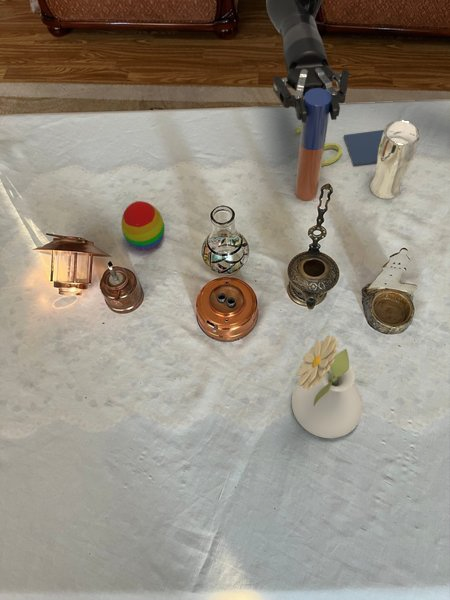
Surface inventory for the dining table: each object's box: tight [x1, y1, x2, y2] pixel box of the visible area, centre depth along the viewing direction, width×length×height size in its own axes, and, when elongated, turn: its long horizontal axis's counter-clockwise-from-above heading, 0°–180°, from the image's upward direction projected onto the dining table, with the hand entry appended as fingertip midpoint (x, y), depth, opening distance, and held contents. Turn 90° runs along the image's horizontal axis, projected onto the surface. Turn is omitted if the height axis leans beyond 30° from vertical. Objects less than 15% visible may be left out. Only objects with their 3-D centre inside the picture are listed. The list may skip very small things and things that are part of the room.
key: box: [294, 123, 343, 167], centre depth 115 cm, size 7×12×2 cm, turn 49°
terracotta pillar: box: [294, 142, 326, 202], centre depth 104 cm, size 5×5×14 cm
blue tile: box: [343, 129, 384, 167], centre depth 115 cm, size 9×9×1 cm
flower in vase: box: [291, 334, 364, 439], centre depth 75 cm, size 13×11×25 cm
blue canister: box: [299, 88, 332, 150], centre depth 93 cm, size 5×5×10 cm
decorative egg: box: [121, 200, 165, 251], centre depth 102 cm, size 8×8×10 cm
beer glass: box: [369, 119, 421, 200], centre depth 103 cm, size 7×7×15 cm
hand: (319, 116), depth 90 cm, fingers closed on blue canister, 4 cm apart
